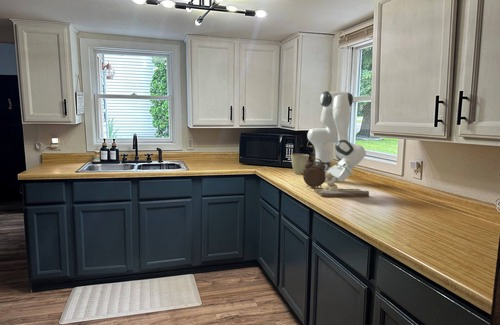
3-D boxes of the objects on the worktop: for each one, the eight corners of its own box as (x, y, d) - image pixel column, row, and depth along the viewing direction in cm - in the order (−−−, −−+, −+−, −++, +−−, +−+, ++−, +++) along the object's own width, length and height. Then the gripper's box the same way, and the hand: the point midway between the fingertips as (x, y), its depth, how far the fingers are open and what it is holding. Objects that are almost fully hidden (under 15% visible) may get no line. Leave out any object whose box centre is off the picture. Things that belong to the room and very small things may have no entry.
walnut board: (314, 191, 223) (314, 186, 223) (358, 191, 228) (358, 186, 227) (321, 196, 209) (322, 191, 209) (368, 197, 214) (369, 191, 214)
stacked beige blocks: (326, 190, 218) (322, 174, 216) (334, 187, 219) (329, 171, 217) (330, 192, 213) (325, 175, 211) (338, 190, 213) (333, 173, 211)
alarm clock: (326, 188, 234) (328, 159, 231) (321, 190, 228) (323, 159, 225) (306, 185, 243) (308, 156, 240) (301, 187, 237) (303, 157, 234)
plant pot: (286, 172, 295) (288, 153, 293) (303, 172, 299) (304, 153, 297) (294, 175, 281) (295, 155, 279) (311, 175, 285) (312, 155, 283)
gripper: (334, 160, 224) (318, 175, 224) (348, 165, 204) (330, 181, 204) (340, 167, 226) (325, 182, 225) (354, 173, 206) (337, 189, 205)
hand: (327, 182), depth 215 cm, fingers closed on stacked beige blocks, 3 cm apart
